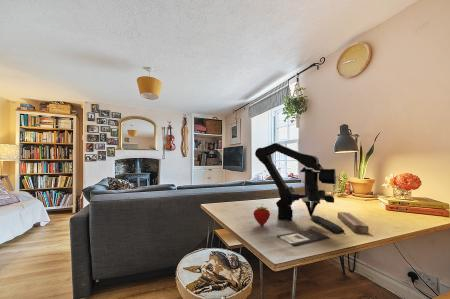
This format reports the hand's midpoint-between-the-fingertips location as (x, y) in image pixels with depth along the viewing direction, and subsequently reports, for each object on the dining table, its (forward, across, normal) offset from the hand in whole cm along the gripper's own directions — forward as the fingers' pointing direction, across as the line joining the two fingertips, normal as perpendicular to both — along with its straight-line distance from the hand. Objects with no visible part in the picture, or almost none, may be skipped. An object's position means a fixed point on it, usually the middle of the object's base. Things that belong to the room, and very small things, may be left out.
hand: (310, 215), depth 96 cm
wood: (+4, +7, 0) cm, 8 cm away
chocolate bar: (+4, -6, -18) cm, 20 cm away
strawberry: (+4, -22, -9) cm, 24 cm away
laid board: (+4, +18, +3) cm, 19 cm away
